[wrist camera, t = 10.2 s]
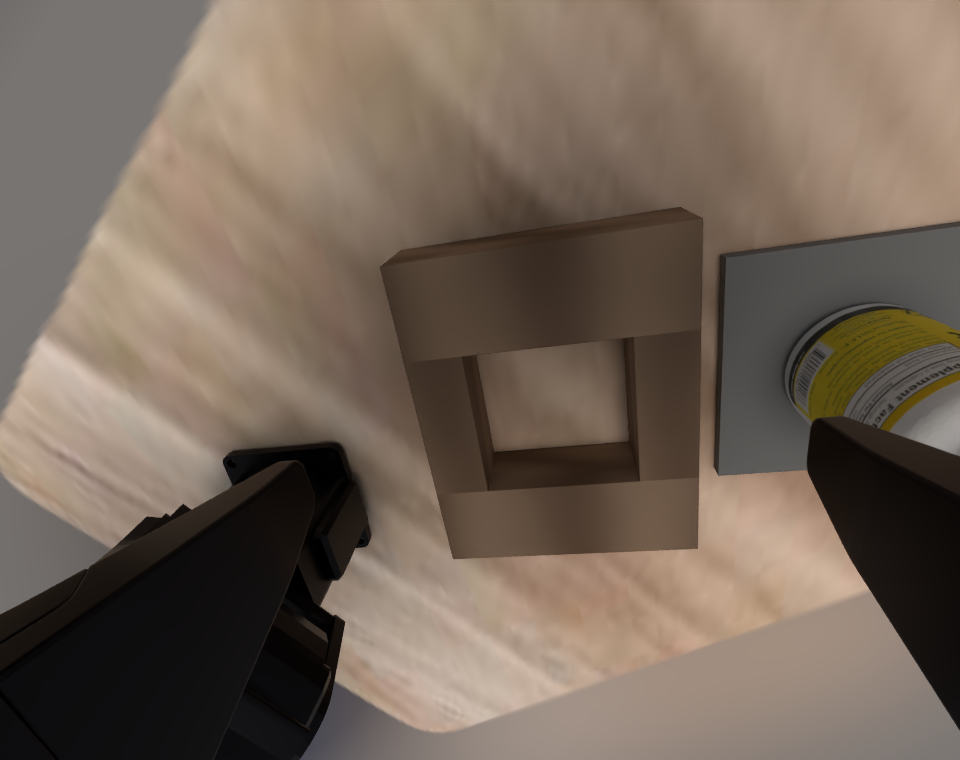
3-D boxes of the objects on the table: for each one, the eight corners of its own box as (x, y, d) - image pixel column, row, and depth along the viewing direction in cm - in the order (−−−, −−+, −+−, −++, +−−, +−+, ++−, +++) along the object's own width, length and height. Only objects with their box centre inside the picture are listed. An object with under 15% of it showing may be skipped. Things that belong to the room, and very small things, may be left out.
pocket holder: (462, 516, 26) (453, 559, 24) (401, 250, 21) (380, 266, 18) (680, 503, 25) (697, 548, 22) (680, 207, 19) (703, 218, 16)
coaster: (714, 467, 24) (718, 475, 23) (721, 254, 19) (726, 257, 19) (958, 451, 22) (969, 459, 21) (1023, 213, 18) (1038, 215, 17)
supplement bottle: (952, 380, 20) (1274, 571, 11) (812, 443, 22) (995, 650, 13) (902, 269, 18) (1232, 391, 10) (757, 348, 20) (921, 510, 11)
